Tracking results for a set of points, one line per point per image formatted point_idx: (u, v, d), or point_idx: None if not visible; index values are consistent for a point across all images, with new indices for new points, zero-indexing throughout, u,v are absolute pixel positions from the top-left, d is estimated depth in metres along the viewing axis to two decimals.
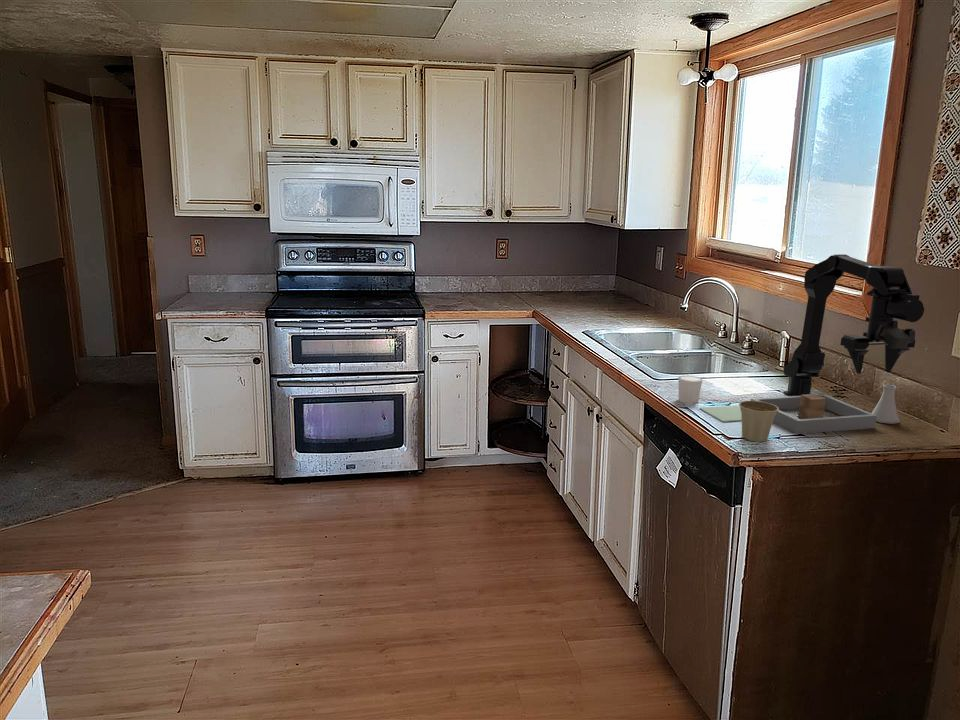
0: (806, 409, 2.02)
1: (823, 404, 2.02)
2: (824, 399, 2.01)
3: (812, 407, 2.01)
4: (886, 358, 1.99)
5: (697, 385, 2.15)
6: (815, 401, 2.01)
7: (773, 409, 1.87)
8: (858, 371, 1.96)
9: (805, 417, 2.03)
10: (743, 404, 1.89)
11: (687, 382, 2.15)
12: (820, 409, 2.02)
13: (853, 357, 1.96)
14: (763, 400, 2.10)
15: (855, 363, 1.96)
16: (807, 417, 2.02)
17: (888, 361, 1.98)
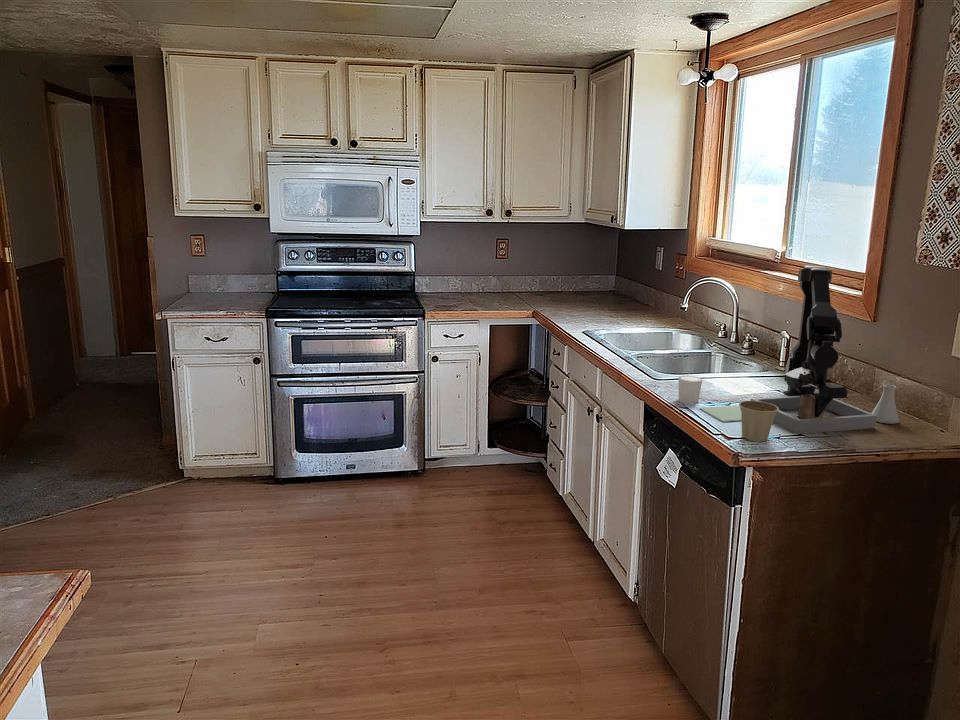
0: (806, 409, 2.02)
1: None
2: None
3: (812, 407, 2.01)
4: None
5: (697, 385, 2.15)
6: None
7: (773, 409, 1.87)
8: None
9: (805, 417, 2.03)
10: (743, 404, 1.89)
11: (687, 382, 2.15)
12: None
13: None
14: (763, 400, 2.10)
15: None
16: (807, 417, 2.02)
17: None
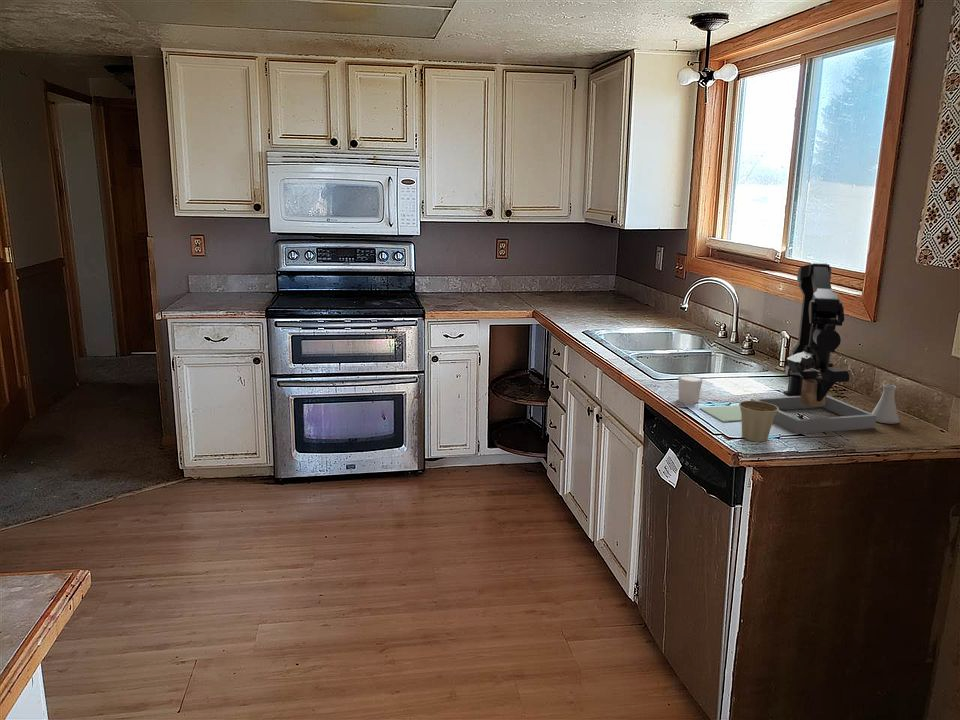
0: (808, 394, 2.01)
1: None
2: None
3: (814, 391, 2.00)
4: None
5: (697, 385, 2.15)
6: (817, 385, 2.00)
7: (773, 409, 1.87)
8: None
9: (807, 402, 2.02)
10: (743, 404, 1.89)
11: (687, 382, 2.15)
12: None
13: None
14: (763, 400, 2.10)
15: None
16: (809, 401, 2.01)
17: None
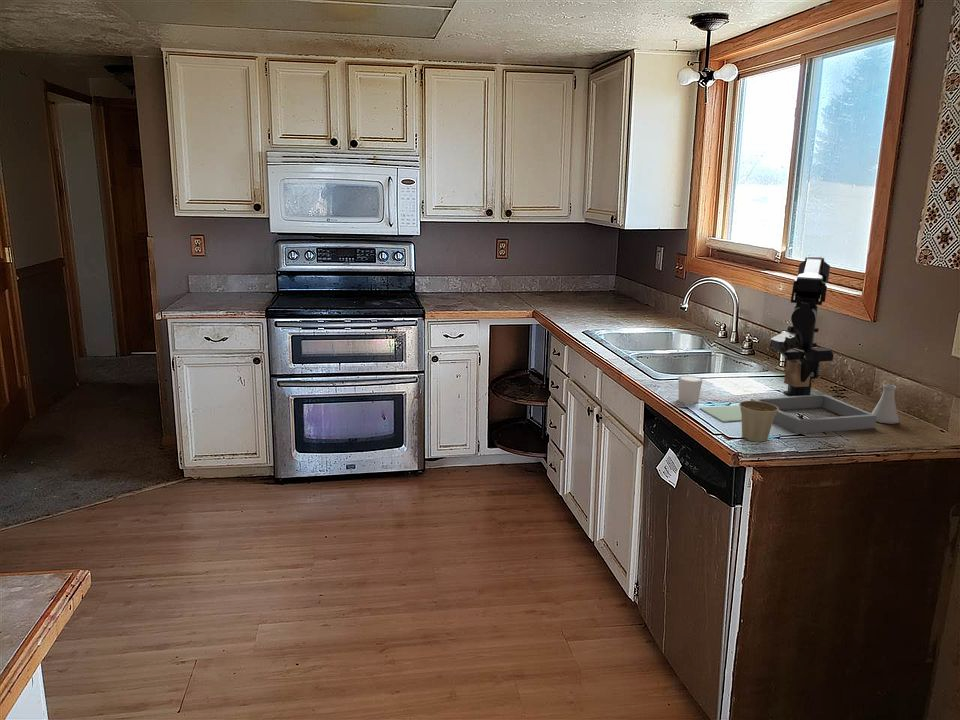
0: (792, 374, 2.01)
1: None
2: None
3: (798, 371, 1.99)
4: None
5: (697, 385, 2.15)
6: None
7: (773, 409, 1.87)
8: None
9: (791, 382, 2.01)
10: (743, 404, 1.89)
11: (687, 382, 2.15)
12: None
13: None
14: (763, 400, 2.10)
15: None
16: (793, 382, 2.00)
17: None
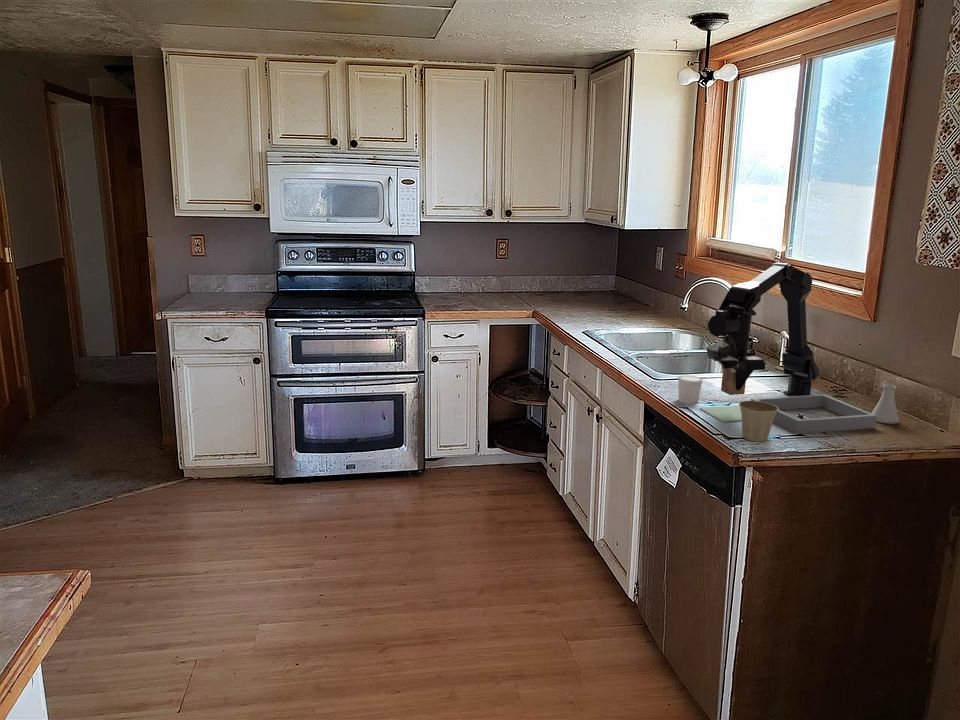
0: (728, 382, 2.03)
1: None
2: None
3: (733, 380, 2.02)
4: None
5: (697, 385, 2.15)
6: None
7: (773, 409, 1.87)
8: None
9: (727, 390, 2.04)
10: (743, 404, 1.89)
11: (687, 382, 2.15)
12: None
13: None
14: (763, 400, 2.10)
15: None
16: (728, 390, 2.03)
17: None
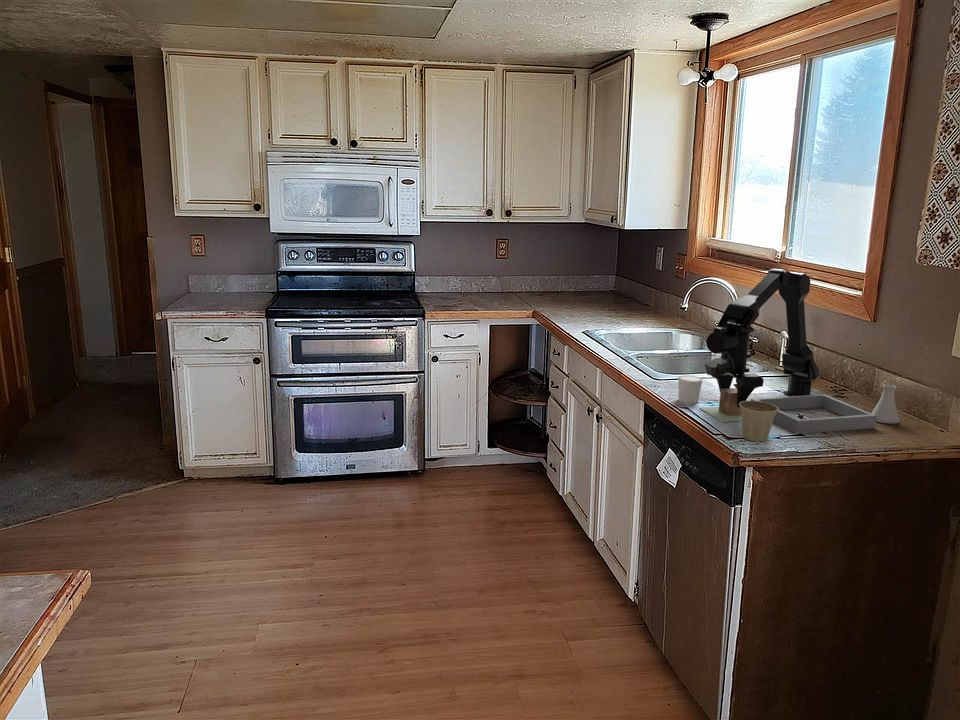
0: (725, 403, 2.05)
1: None
2: None
3: (730, 400, 2.03)
4: None
5: (697, 385, 2.15)
6: (733, 395, 2.03)
7: (773, 409, 1.87)
8: None
9: (724, 411, 2.06)
10: (743, 404, 1.89)
11: (687, 382, 2.15)
12: None
13: None
14: (763, 400, 2.10)
15: None
16: (726, 411, 2.05)
17: None
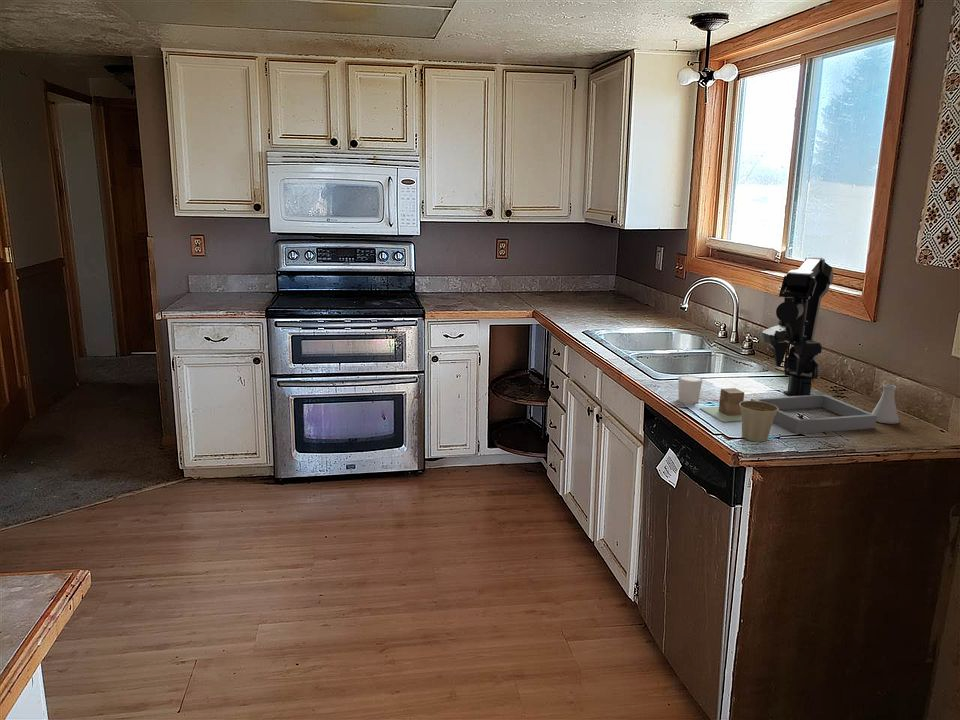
0: (725, 403, 2.05)
1: (742, 398, 2.04)
2: (742, 393, 2.04)
3: (730, 400, 2.03)
4: None
5: (697, 385, 2.15)
6: (733, 395, 2.03)
7: (773, 409, 1.87)
8: None
9: (724, 411, 2.06)
10: (743, 404, 1.89)
11: (687, 382, 2.15)
12: None
13: None
14: (763, 400, 2.10)
15: None
16: (726, 411, 2.05)
17: None
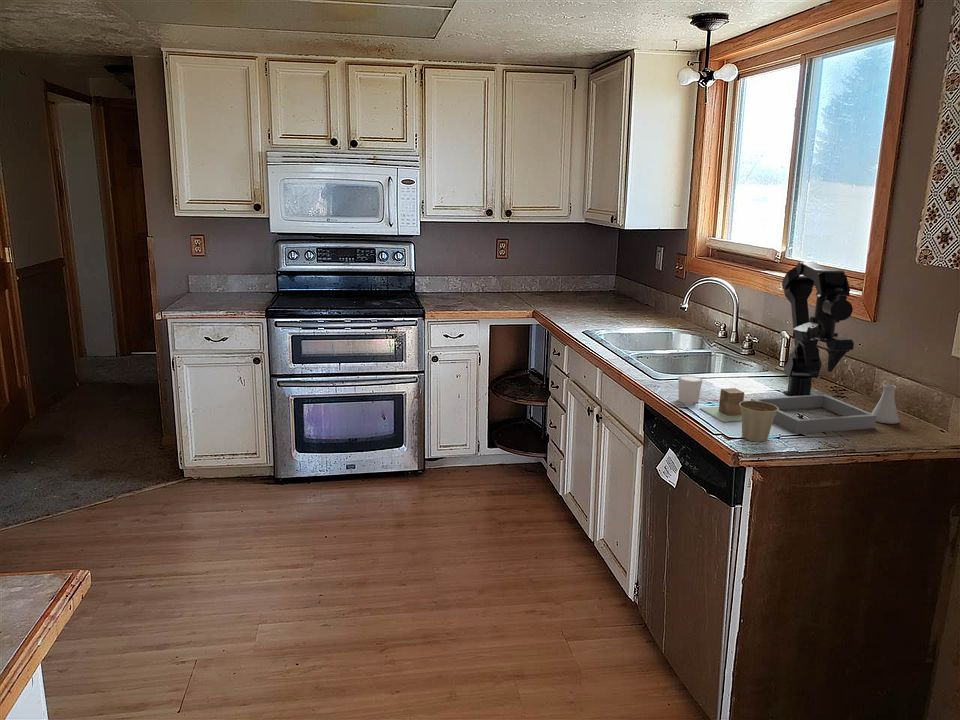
0: (725, 403, 2.05)
1: (742, 398, 2.04)
2: (742, 393, 2.04)
3: (730, 400, 2.03)
4: None
5: (697, 385, 2.15)
6: (733, 395, 2.03)
7: (773, 409, 1.87)
8: None
9: (724, 411, 2.06)
10: (743, 404, 1.89)
11: (687, 382, 2.15)
12: None
13: None
14: (763, 400, 2.10)
15: None
16: (726, 411, 2.05)
17: None
